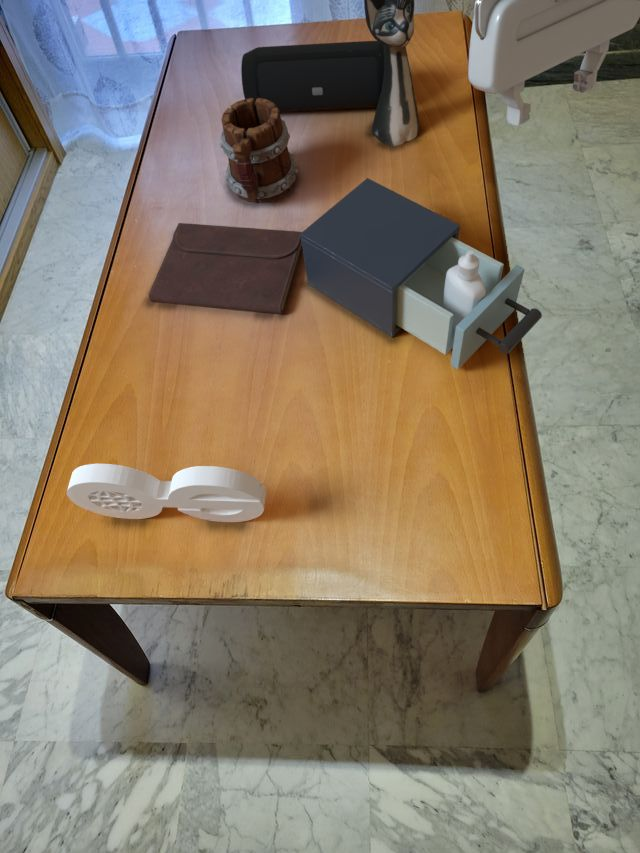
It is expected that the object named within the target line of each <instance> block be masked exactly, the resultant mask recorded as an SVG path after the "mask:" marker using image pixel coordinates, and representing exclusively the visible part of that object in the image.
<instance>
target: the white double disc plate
mask: <svg viewBox="0 0 640 853" xmlns="http://www.w3.org/2000/svg"><path fill="white" fill-rule="evenodd" d="M260 481H261V480H259V479H258V478H257V477H255V476H253V475H252V474H248V473H246V472H243V471H241V470H238V469H233V468H230V467H223V466H216V465H198V466H197V465H196V466H190V467H185V468H183V469H181V470H179V471H177V472H175V473H174V475H173V476H172V478H171V480H160V479H158V478H157V477H155V476H153V475H152V474H149V473H147V472H145V471H144V470H143V471H142V470H139V469H137V468H133V467H129V466H125V465H120V464H115V463H88V464H84V465H80V466H78V467H76V468H75V469H73V471H72V473H71V476H70V480H69V482H68V486H67V488H66V496H67V498H68V499H69V500H70V501H71V502H72V503H73V504H74V505H76V506H78V507H80V508H81V509H84V510H86V511H88V512H92V513H95V514H98V515H101V516H105V517H111V518H116V519H124V520H125V519H126V520H140V519H142V520H143V519H148V518H153V517H156V516H158V515H159V514H160V513H162V510H163V508H177V511H179V512H181V513H183V514H185V515H188V516H191V517H193V518H196V519H201V520H205V521H210V522H219V523H240V522H241V523H242V522H248V521H252V520H254V519H257V518H259V517H260V516H261V515H262V514H263V513H264V511H265V505H266V495H267V489H266V486H265V484H264V483H261V482H260Z"/></svg>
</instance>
